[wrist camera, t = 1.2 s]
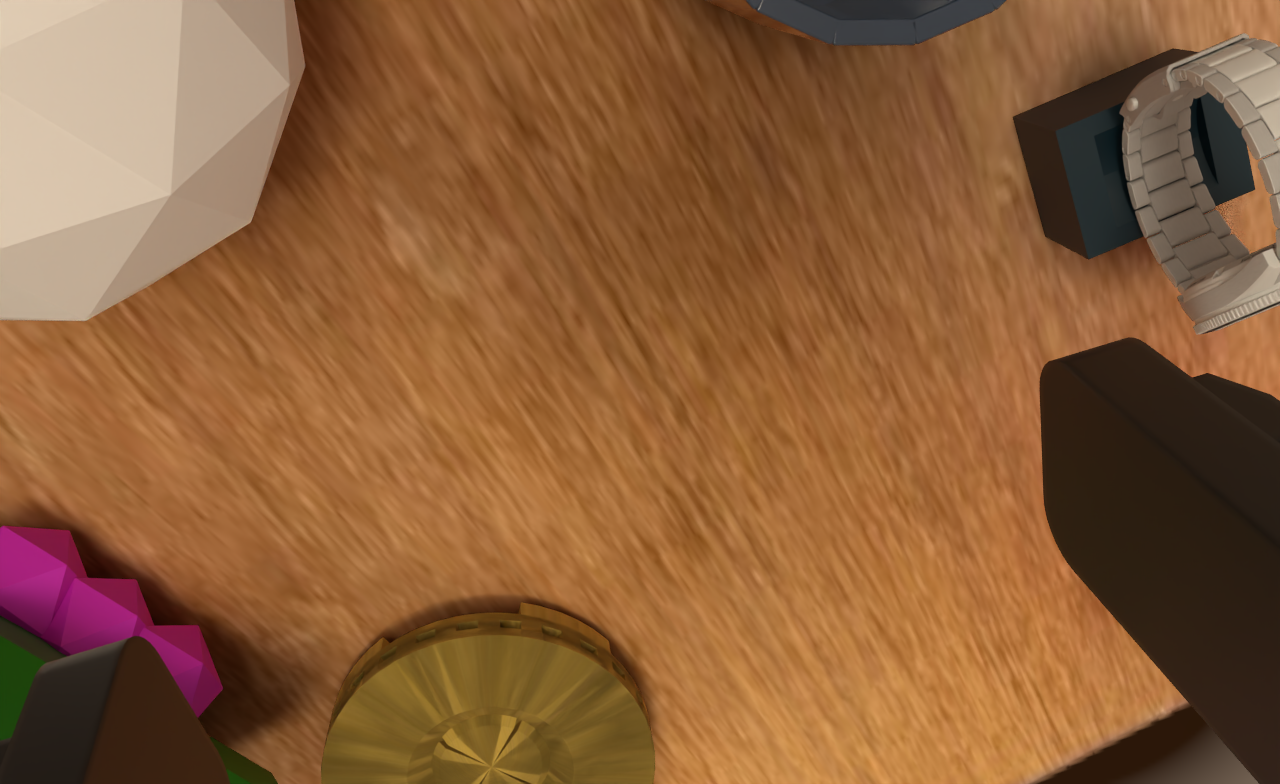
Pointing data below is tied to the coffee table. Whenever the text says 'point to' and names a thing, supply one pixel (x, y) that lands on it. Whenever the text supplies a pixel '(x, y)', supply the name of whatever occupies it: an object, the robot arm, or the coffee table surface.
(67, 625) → the toy blocks
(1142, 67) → the watch
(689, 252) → the coffee table surface
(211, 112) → the geometric shape
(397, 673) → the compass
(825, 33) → the holder
